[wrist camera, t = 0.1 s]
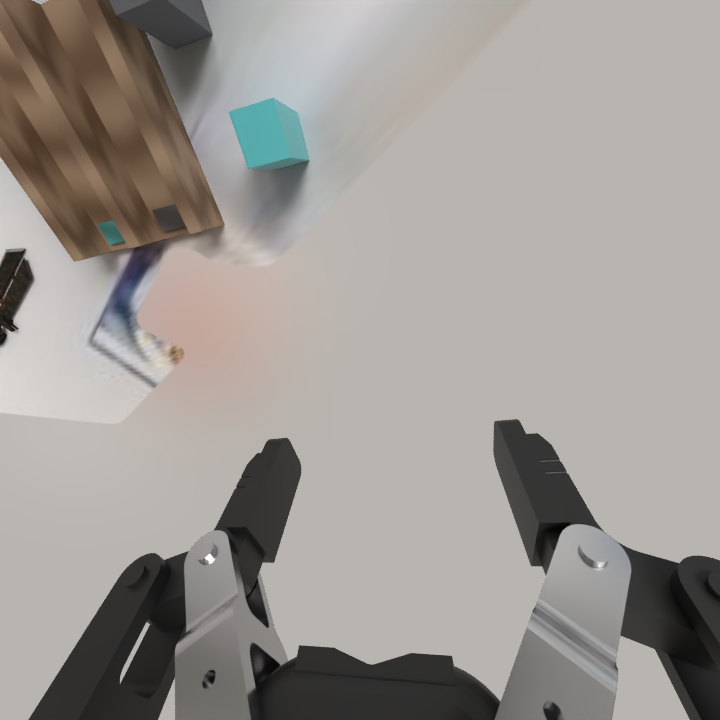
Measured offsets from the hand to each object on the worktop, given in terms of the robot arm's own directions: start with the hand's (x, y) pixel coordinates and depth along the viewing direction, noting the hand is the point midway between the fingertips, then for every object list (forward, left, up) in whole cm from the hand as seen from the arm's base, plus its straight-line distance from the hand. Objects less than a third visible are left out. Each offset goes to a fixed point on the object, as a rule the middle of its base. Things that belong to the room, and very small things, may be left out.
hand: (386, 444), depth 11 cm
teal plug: (-14, -9, -29) cm, 34 cm away
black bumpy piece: (-5, -60, -30) cm, 67 cm away
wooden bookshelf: (-18, -28, -29) cm, 44 cm away
